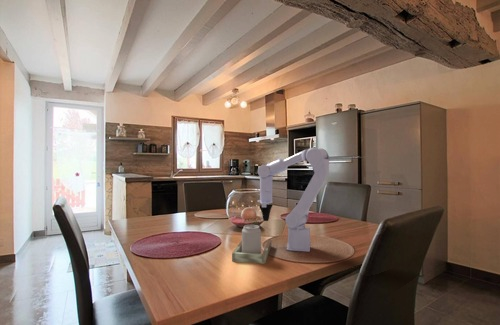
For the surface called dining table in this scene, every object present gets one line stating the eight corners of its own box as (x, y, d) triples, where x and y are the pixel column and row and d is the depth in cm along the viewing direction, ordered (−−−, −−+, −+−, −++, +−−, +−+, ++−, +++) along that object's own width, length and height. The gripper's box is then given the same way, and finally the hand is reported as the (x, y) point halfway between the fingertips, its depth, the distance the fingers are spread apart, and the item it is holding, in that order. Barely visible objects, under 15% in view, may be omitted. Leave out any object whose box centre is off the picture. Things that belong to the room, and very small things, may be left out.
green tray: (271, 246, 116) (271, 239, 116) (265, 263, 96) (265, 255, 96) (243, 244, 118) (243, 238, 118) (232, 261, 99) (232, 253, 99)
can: (262, 254, 106) (262, 224, 106) (258, 261, 99) (259, 229, 99) (244, 252, 108) (244, 223, 108) (239, 259, 100) (239, 227, 100)
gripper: (260, 189, 130) (259, 217, 130) (254, 192, 116) (254, 223, 116) (274, 189, 129) (274, 217, 129) (270, 193, 115) (270, 224, 115)
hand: (266, 220), depth 122 cm, fingers closed
